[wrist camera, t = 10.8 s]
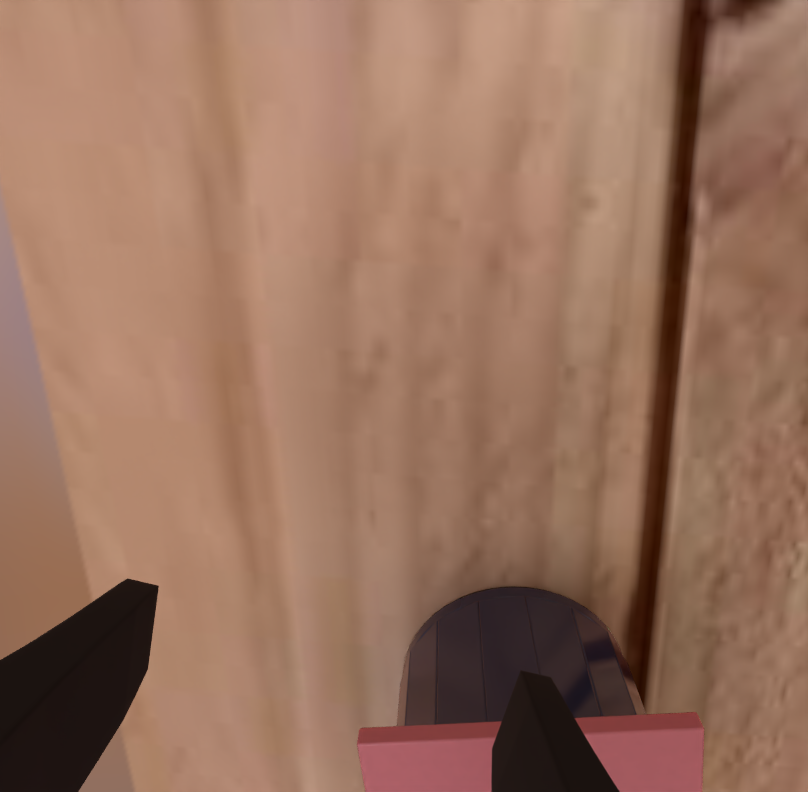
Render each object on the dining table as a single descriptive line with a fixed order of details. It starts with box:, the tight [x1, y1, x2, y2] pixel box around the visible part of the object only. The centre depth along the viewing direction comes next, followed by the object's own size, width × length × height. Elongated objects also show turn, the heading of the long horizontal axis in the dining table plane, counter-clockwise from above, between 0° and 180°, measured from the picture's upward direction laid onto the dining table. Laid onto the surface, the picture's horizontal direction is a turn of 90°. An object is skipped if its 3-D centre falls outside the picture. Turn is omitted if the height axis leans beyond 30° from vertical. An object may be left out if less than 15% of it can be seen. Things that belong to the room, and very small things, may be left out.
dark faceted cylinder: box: [397, 587, 646, 726], centre depth 23 cm, size 8×8×6 cm
